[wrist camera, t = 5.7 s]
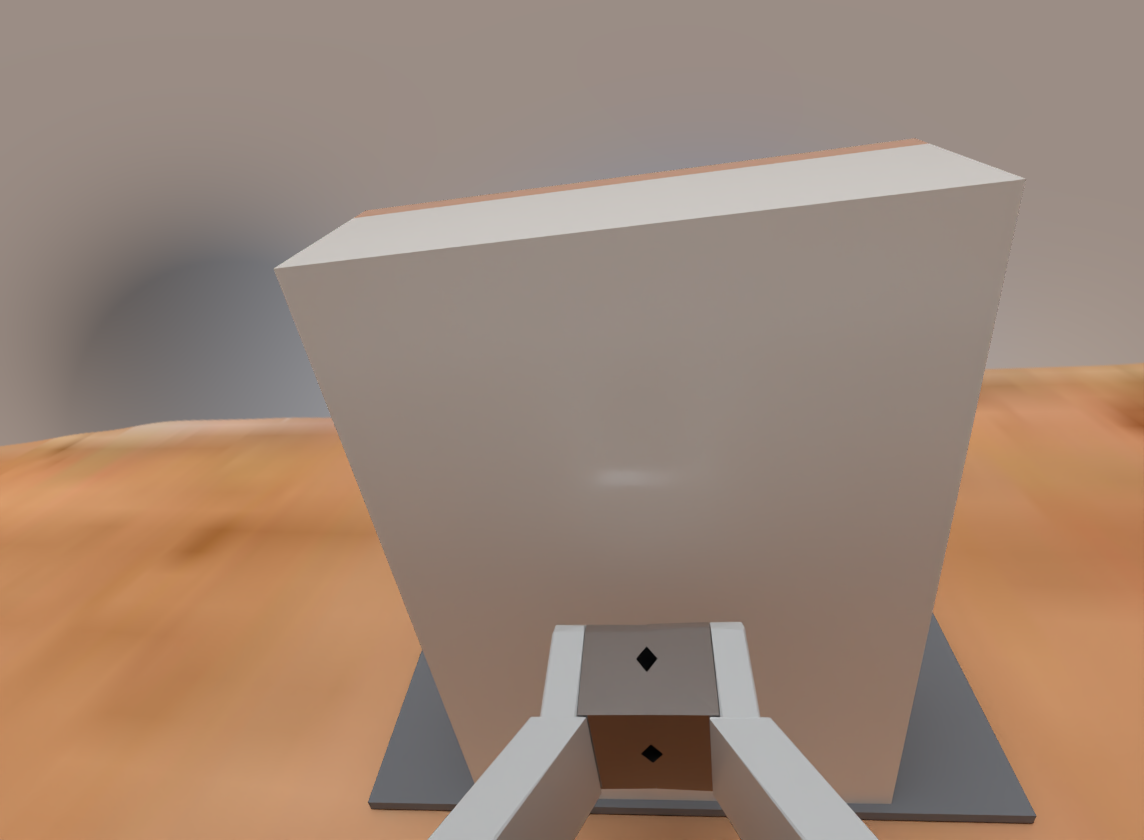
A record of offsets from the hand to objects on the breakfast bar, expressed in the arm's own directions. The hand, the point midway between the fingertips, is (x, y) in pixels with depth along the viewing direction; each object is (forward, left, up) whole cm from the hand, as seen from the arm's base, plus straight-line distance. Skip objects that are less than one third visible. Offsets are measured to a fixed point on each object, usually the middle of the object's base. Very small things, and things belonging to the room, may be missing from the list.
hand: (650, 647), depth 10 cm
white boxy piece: (0, +3, -8) cm, 8 cm away
